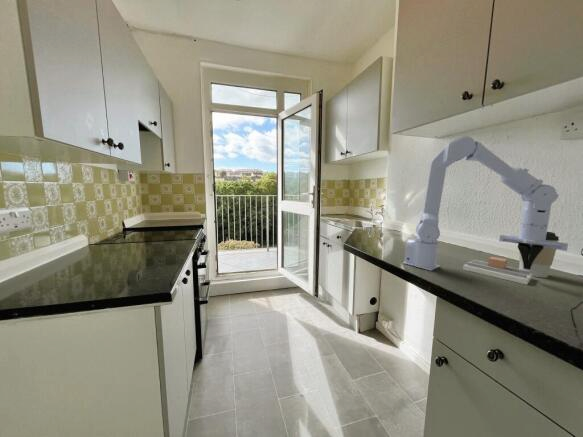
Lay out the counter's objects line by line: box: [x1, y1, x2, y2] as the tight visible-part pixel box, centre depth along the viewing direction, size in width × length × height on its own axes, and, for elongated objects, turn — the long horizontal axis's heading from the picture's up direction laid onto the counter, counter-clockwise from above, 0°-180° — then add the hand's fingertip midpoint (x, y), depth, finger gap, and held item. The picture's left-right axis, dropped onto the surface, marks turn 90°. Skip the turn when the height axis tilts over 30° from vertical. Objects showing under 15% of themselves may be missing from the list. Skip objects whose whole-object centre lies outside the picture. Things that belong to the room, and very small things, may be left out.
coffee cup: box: [518, 231, 560, 279], centre depth 80 cm, size 9×9×15 cm
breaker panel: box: [462, 259, 533, 286], centre depth 79 cm, size 16×9×2 cm, turn 39°
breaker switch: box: [487, 256, 508, 270], centre depth 79 cm, size 4×4×4 cm
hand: (527, 268), depth 73 cm, fingers closed
